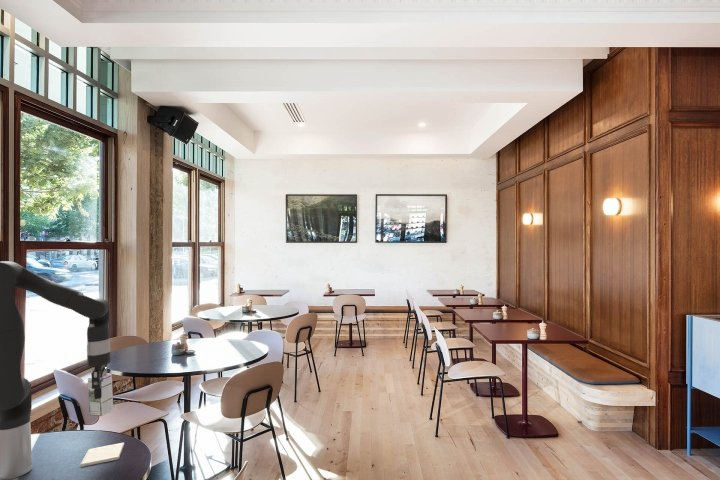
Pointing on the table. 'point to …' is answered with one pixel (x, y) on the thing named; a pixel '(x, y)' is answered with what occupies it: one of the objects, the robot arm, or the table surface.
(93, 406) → the syrup box
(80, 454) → the table surface
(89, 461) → the ceramic tile
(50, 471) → the table surface
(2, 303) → the robot arm
